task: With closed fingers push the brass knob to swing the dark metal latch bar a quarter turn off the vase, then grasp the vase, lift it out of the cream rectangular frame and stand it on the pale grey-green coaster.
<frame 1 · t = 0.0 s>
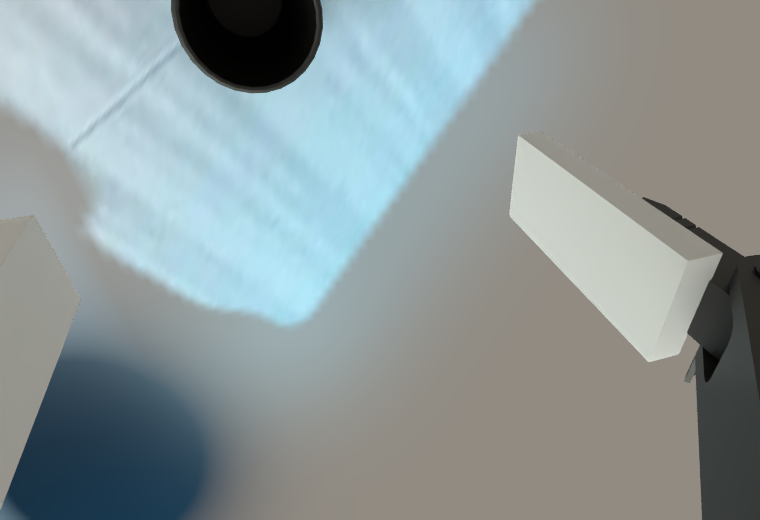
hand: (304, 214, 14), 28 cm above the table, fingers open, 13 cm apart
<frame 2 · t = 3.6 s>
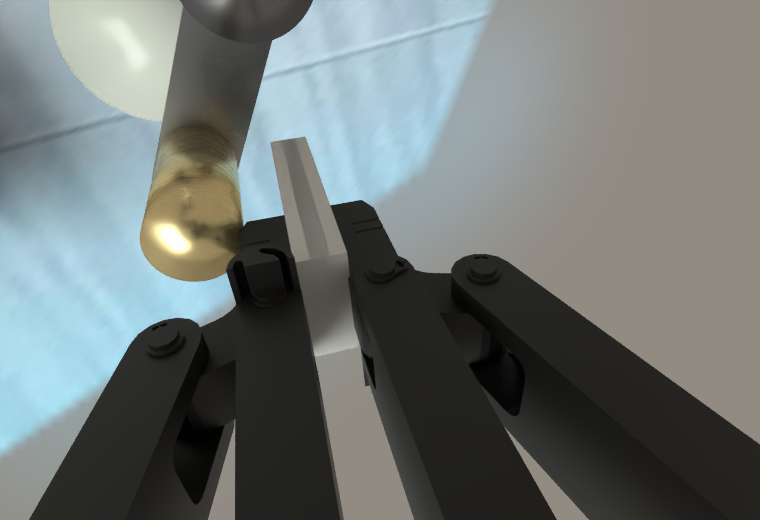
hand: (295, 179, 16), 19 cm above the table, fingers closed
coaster: (153, 32, 28), on the table
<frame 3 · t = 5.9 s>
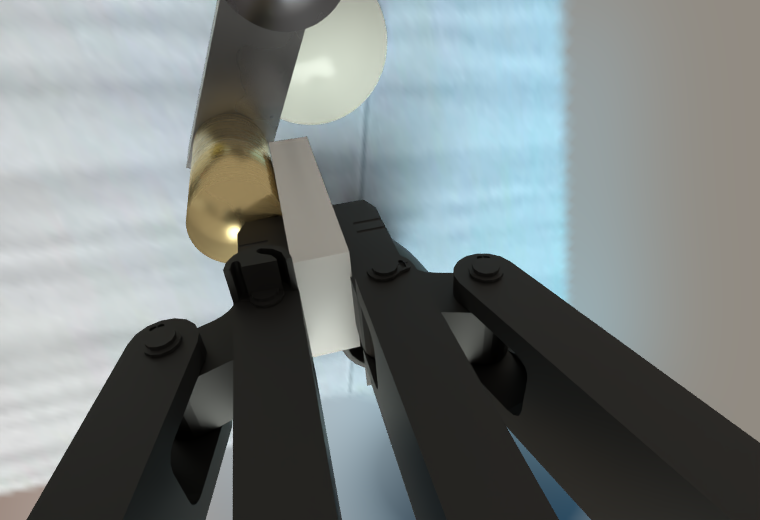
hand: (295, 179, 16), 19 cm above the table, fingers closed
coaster: (309, 44, 31), on the table
mug: (345, 247, 41), on the table
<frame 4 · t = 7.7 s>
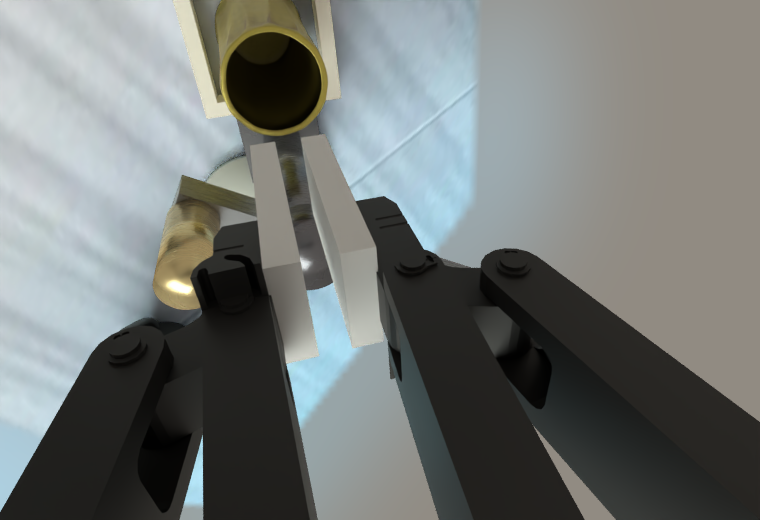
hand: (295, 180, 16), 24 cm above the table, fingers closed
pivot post: (281, 137, 39), on the table
cream rectangular frame: (259, 30, 35), on the table
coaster: (260, 208, 42), on the table
vase: (259, 30, 35), resting in cream rectangular frame
latch bar: (356, 282, 25), point 19 cm above the table, hinge at -122.1°
mug: (160, 327, 47), on the table
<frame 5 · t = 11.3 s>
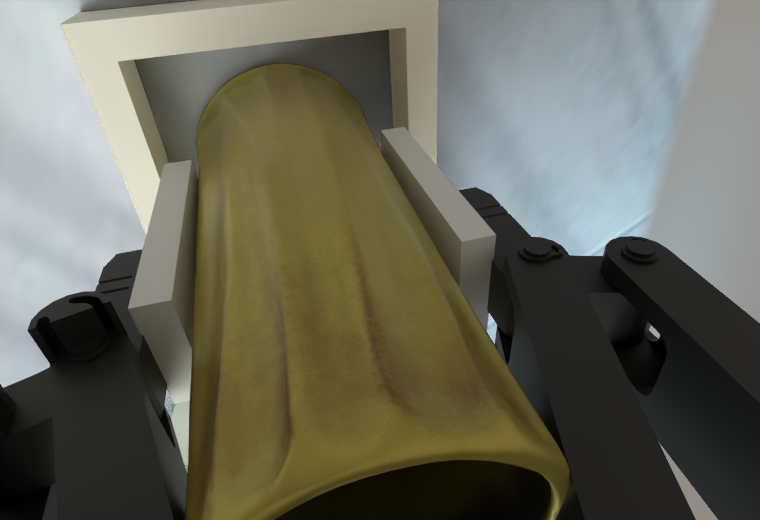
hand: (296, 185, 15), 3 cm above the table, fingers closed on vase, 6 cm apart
cream rectangular frame: (286, 150, 17), on the table
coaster: (275, 412, 25), on the table
vase: (286, 149, 18), resting in cream rectangular frame, touching gripper
when the fingers open (5 cm above the table, at t = 18.2 s): vase drops 1 cm, resting on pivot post.
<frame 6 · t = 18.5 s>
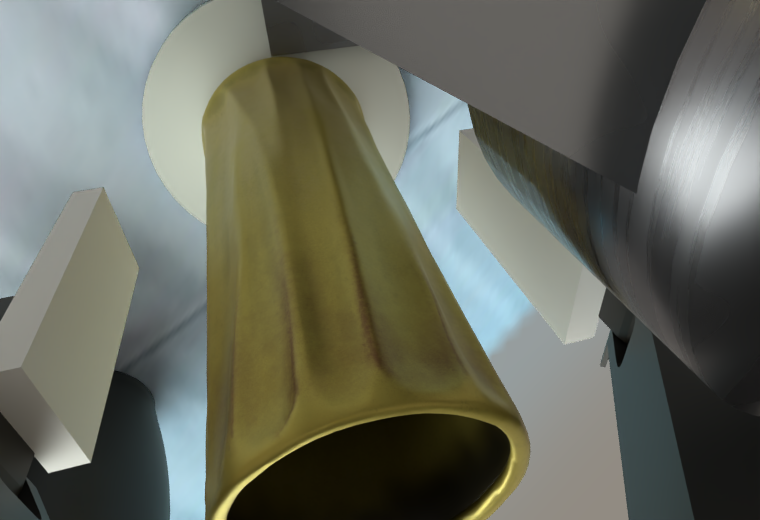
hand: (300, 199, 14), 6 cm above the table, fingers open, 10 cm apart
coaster: (283, 129, 19), on the table
vase: (286, 136, 19), point 1 cm above the table, touching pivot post
mug: (79, 378, 24), on the table
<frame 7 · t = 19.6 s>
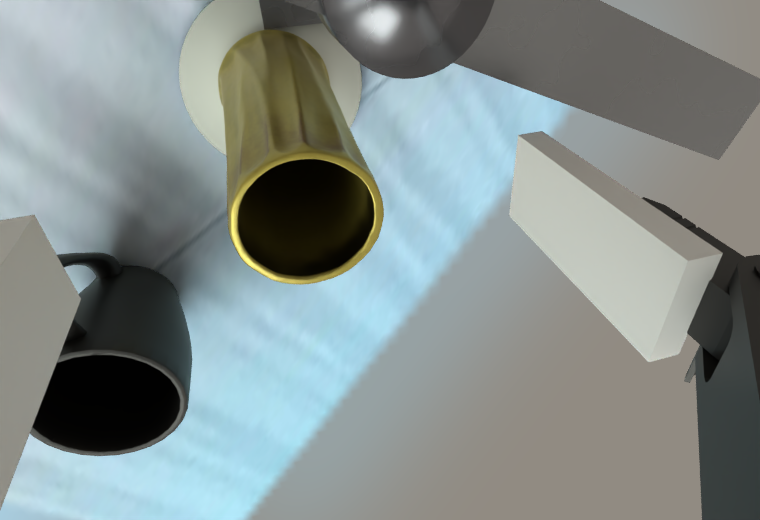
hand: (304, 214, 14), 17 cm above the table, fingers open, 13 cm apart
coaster: (273, 83, 28), on the table
vase: (274, 86, 27), point 1 cm above the table, touching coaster, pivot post
latch bar: (526, 28, 11), point 19 cm above the table, hinge at -113.9°
mug: (124, 275, 32), on the table
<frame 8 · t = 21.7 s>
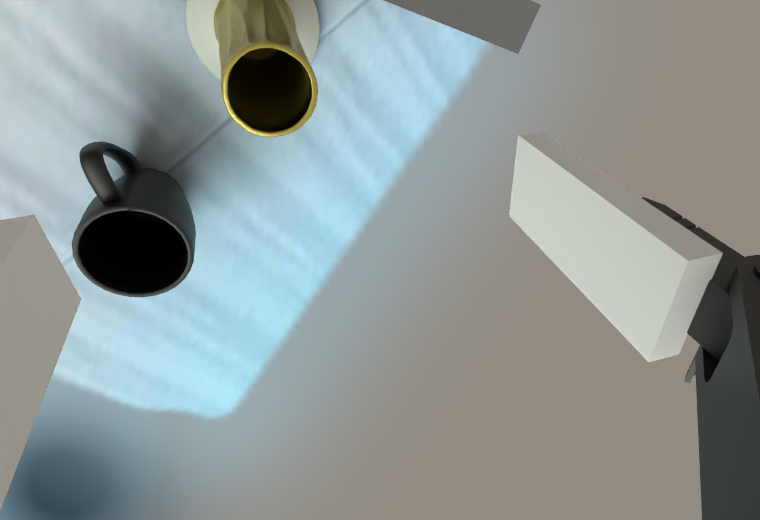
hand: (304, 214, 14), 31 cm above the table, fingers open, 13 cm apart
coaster: (254, 25, 38), on the table
vase: (255, 27, 37), point 1 cm above the table, touching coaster, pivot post
mug: (143, 176, 43), on the table
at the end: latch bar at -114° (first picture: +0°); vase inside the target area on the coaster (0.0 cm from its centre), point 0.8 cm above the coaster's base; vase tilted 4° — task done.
